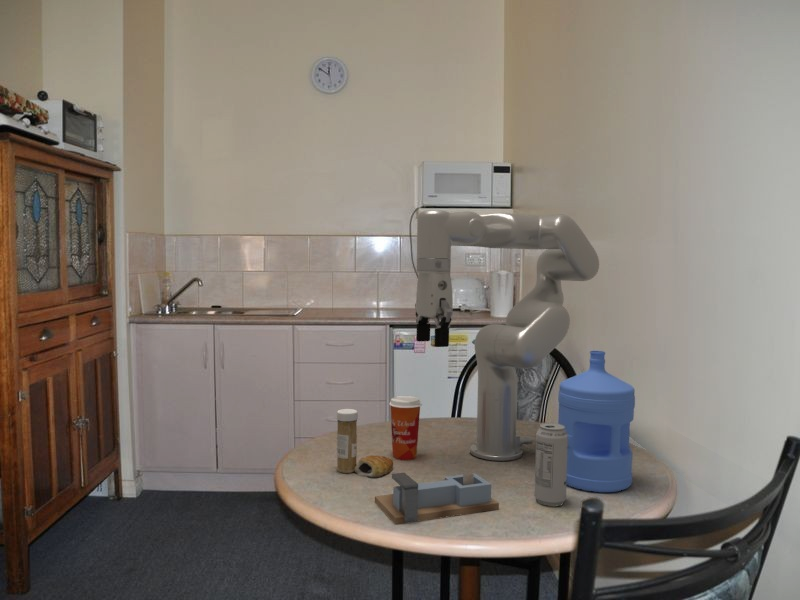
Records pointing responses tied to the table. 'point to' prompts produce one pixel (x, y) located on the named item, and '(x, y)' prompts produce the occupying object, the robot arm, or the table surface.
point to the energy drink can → (551, 464)
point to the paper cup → (405, 426)
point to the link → (448, 493)
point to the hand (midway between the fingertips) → (432, 343)
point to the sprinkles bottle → (346, 440)
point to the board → (436, 511)
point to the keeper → (408, 496)
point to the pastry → (374, 466)
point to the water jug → (597, 428)
